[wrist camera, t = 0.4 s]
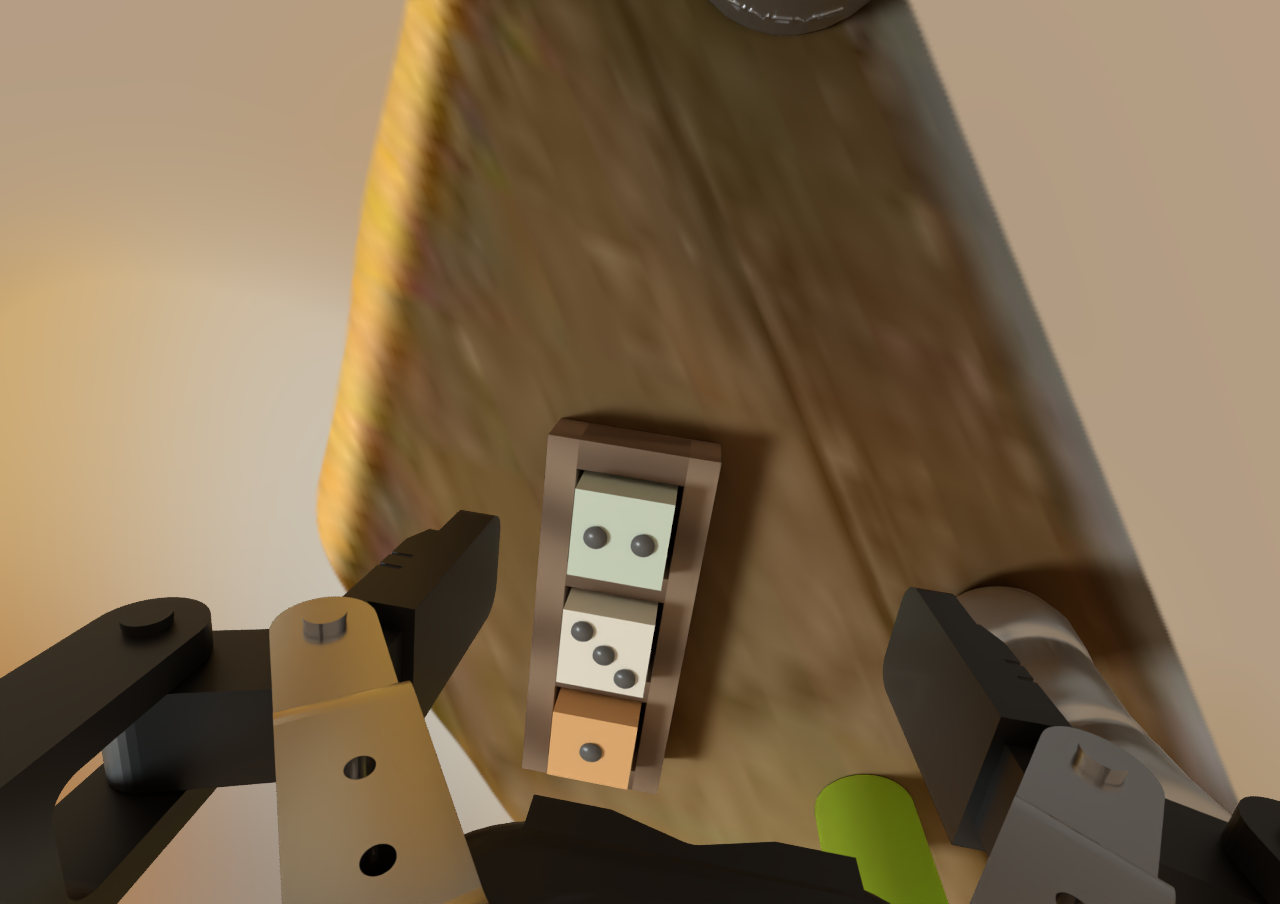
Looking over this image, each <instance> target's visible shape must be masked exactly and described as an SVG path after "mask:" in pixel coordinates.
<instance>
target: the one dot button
mask: <svg viewBox="0 0 1280 904" xmlns="http://www.w3.org/2000/svg"><path fill="white" fill-rule="evenodd" d="M640 709H641V702H639V701H634V700H629V699H623V698H618V697H613V696H607V695H602V694H597V693H591V692H586V691H581V690H575V689H570V688H565V687H561V689H560V692H559V695H558V698H557V701H556V704H555V707H554V710H553V717H552V727H551V737H550V747H549V757H548V767H547V774H550V775H555V776H560V777H565V778H570V779H575V780H580V781H586V782H591V783H596V784H601V785H606V786H611V787H616V788H621V789H626V790H627V787H628V782H629V776H630V770H631V764H632V758H633V752H634V746H635V740H636V735H637V729H638V722H639V715H640Z"/></svg>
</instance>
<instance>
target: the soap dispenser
mask: <svg viewBox="0 0 1280 904" xmlns="http://www.w3.org/2000/svg"><path fill="white" fill-rule="evenodd" d="M815 816H816V822H817V828H818V833H819V839H820V845H821V851H824V852H830V853H835V854H840V855H845V856H850V857H855V858H856V860H857V864H858V868H859V872H860V876H861V880H862V884H863V888H864V890H866V891H868V892H870V893H872V894H874V895H876V896H878V897H880V898H882V899H883V900H885V901H887V902H889V903H891V904H949V903H948V901H947V898H946V895H945V892H944V889H943V886H942V883H941V880H940V877H939V874H938V872H937V869H936V866H935V863H934V860H933V857H932V854H931V851H930V848H929V845H928V843H927V840H926V837H925V834H924V831H923V828H922V825H921V822H920V819H919V816H918V814H917V811H916V808H915V805H914V802H913V800H912V798H911V796H910V795H909V793H908V792H907V791H906V790H905V789H904V788H903V787H902V786H900V785H899V784H897V783H896V782H894V781H892V780H890V779H887V778H884V777H880V776H875V775H853V776H848V777H844V778H841V779H839V780H837V781H835V782H833V783H831V784H830V785H828V786H827V787H826V788H825V789H824V790H823V791H822V792H821V793H820V795H819V796H818V798H817V800H816V804H815Z"/></svg>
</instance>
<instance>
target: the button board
mask: <svg viewBox="0 0 1280 904" xmlns="http://www.w3.org/2000/svg"><path fill="white" fill-rule="evenodd" d="M721 463H722V462H721V444H718V443H712V442H705V441H699V440H693V439H687V438H681V437H675V436H668V435H662V434H656V433H650V432H644V431H638V430H631V429H625V428H619V427H613V426H607V425H600V424H594V423H588V422H582V421H576V420H570V419H563V418H561V419H560V420H559V422H558V423H557V424H556V425H555V427H554V428H553V429H552V431H551V432H550V433H549V435H548V447H547V459H546V472H545V484H544V497H543V510H542V522H541V535H540V548H539V560H538V573H537V586H536V598H535V611H534V624H533V636H532V649H531V661H530V674H529V687H528V699H527V712H526V725H525V737H524V750H523V763H522V768H524V769H529V770H534V771H540V772H545V773H547V767H548V757H549V747H550V737H551V727H552V717H553V710H554V707H555V704H556V701H557V698H558V695H559V692H560V689H561V687H565V688H570V689H575V690H581V691H586V692H591V693H597V694H602V695H607V696H613V697H618V698H623V699H629V700H634V701H639V702H644V703H646V705H645V711H644V717H643V723H642V728H641V734H640V737H638V736H636V740H635V746H634V752H633V758H632V764H631V770H630V776H629V782H628V787H627V789H631V790H636V791H641V792H646V793H651V794H656V795H657V790H658V785H659V780H660V775H661V770H662V764H663V759H664V754H665V749H666V744H667V739H668V734H669V729H670V724H671V719H672V713H673V708H674V703H675V698H676V693H677V688H678V683H679V678H680V673H681V667H682V662H683V657H684V652H685V647H686V642H687V637H688V632H689V627H690V621H691V616H692V611H693V606H694V601H695V596H696V591H697V586H698V581H699V575H700V570H701V565H702V560H703V555H704V550H705V545H706V540H707V535H708V529H709V524H710V519H711V514H712V509H713V504H714V499H715V494H716V489H717V483H718V478H719V473H720V468H721ZM585 470H588V471H594V472H600V473H606V474H612V475H618V476H624V477H630V478H636V479H642V480H648V481H654V482H660V483H666V484H672V485H678V486H683V492H682V497H681V503H680V509H679V515H678V520H677V526H676V532H675V538H674V544H673V549H672V554H670V553H667V558H666V564H665V570H664V576H663V581H662V587H661V591H659V590H653V589H647V588H642V587H636V586H630V585H625V584H619V583H613V582H608V581H602V580H597V579H591V578H585V577H580V576H574V575H568V574H567V568H568V558H569V548H570V538H571V528H572V518H573V508H574V498H575V488H576V486H577V485H578V483H579V481H580V479H581V477H582V475H583V473H584V471H585ZM572 587H576V588H581V589H587V590H592V591H598V592H604V593H609V594H615V595H621V596H626V597H632V598H637V599H643V600H649V601H654V602H660V603H663V607H662V613H661V619H660V624H659V630H658V636H657V642H656V648H655V652H654V651H651V652H650V658H649V664H648V670H647V676H646V682H645V687H644V693H643V698H640V697H635V696H629V695H624V694H619V693H613V692H608V691H603V690H597V689H592V688H587V687H581V686H576V685H571V684H565V683H560V682H556V677H557V667H558V657H559V647H560V637H561V627H562V617H563V609H564V606H565V604H566V601H567V598H568V596H569V593H570V591H571V588H572Z"/></svg>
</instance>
